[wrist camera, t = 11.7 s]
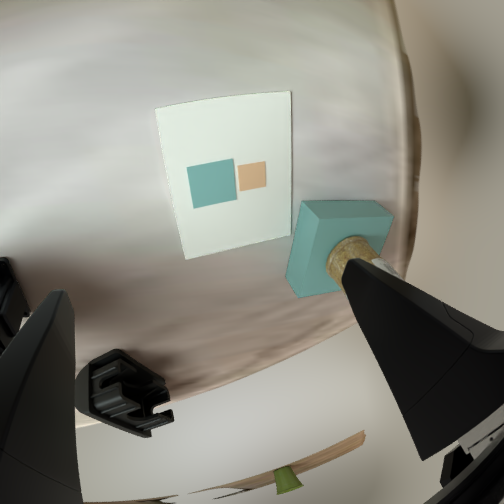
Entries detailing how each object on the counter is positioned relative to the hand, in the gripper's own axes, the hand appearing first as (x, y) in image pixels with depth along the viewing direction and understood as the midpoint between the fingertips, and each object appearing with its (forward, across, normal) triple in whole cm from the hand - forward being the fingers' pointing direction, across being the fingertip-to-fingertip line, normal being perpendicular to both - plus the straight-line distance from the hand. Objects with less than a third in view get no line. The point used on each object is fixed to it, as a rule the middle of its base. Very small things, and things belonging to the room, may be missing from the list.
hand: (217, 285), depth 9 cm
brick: (+13, -14, +8) cm, 21 cm away
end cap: (+13, +8, +25) cm, 29 cm away
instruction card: (+13, -4, +2) cm, 14 cm away
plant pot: (+13, -32, +122) cm, 127 cm away
